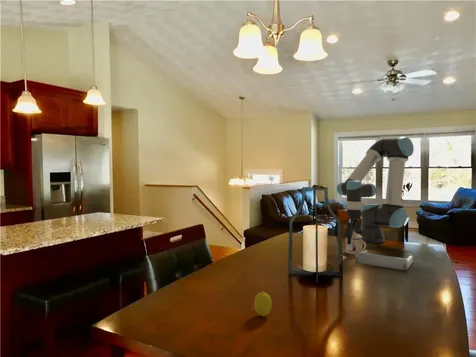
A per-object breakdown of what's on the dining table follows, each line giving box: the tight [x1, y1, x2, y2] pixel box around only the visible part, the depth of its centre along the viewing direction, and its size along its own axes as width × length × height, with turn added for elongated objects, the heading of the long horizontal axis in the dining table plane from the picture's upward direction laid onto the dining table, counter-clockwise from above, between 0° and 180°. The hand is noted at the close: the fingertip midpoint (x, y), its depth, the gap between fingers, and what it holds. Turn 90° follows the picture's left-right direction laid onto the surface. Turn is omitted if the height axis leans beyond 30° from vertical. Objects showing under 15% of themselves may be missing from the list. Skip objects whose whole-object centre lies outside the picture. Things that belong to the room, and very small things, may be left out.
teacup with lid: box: [345, 230, 367, 255], centre depth 185 cm, size 12×9×12 cm
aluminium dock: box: [354, 249, 414, 271], centre depth 167 cm, size 16×23×5 cm
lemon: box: [253, 291, 272, 318], centre depth 108 cm, size 6×6×8 cm
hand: (353, 247), depth 187 cm, fingers open, 13 cm apart
